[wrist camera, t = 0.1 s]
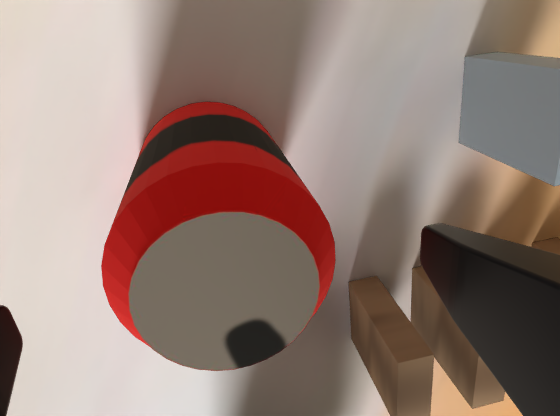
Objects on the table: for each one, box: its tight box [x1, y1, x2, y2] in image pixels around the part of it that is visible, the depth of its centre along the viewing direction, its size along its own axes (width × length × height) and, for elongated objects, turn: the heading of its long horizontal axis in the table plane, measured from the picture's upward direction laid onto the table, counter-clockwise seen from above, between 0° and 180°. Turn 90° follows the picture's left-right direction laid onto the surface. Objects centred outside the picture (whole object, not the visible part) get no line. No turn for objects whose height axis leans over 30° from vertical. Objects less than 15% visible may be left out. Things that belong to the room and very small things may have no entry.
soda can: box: [101, 102, 336, 371], centre depth 18 cm, size 8×8×12 cm
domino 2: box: [411, 266, 505, 409], centre depth 27 cm, size 5×2×8 cm, turn 6°
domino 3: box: [459, 52, 560, 186], centre depth 21 cm, size 5×2×8 cm, turn 6°
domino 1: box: [349, 276, 434, 416], centre depth 26 cm, size 5×2×8 cm, turn 6°
